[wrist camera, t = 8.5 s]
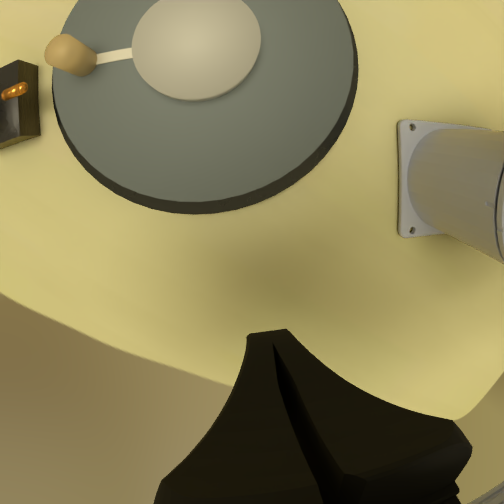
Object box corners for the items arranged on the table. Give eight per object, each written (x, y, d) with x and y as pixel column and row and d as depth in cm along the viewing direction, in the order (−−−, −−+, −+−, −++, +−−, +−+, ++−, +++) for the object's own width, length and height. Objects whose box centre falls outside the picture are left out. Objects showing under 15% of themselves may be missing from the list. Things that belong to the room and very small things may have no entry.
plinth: (328, -50, 14) (335, -60, 12) (357, 195, 20) (367, 199, 18) (67, -20, 13) (58, -27, 11) (79, 226, 19) (70, 232, 17)
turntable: (77, -31, 11) (49, -61, 7) (333, -47, 13) (357, -81, 8) (69, 207, 17) (31, 227, 12) (344, 193, 18) (379, 210, 14)
